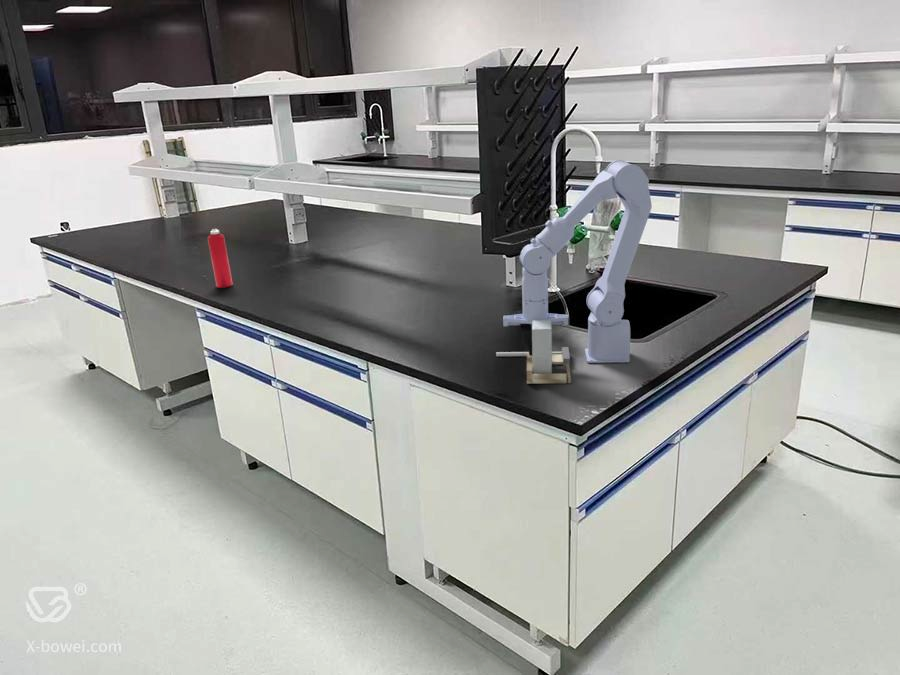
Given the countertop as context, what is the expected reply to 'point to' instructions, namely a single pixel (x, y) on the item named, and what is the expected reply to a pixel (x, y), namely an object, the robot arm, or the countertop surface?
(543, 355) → the skincare box
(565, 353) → the rail
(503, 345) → the countertop surface
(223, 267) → the bottle
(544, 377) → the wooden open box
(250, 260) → the countertop surface
